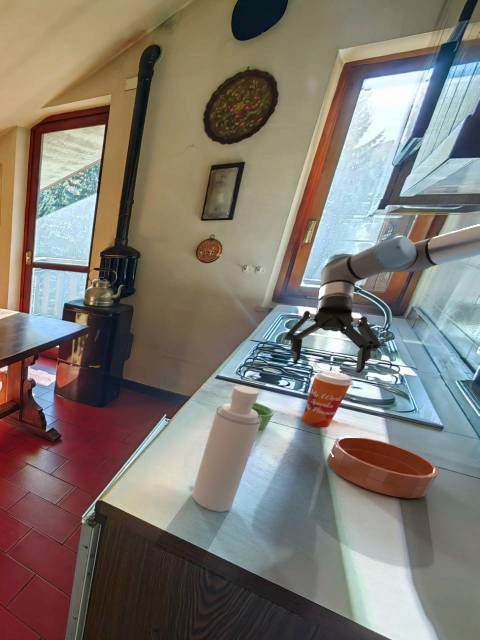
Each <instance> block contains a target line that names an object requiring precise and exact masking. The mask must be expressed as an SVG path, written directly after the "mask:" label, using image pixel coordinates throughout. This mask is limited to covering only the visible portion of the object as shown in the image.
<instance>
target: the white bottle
mask: <svg viewBox="0 0 480 640" xmlns="http://www.w3.org/2000/svg"><path fill="white" fill-rule="evenodd" d="M259 393H260V392H259V390H258V389H256V388H253V387H251V386H246V385H235V386H233V389H232V392H231V396H230V398H231V402H230V403H225V404H222V405H219V406H218V407H217V408H216V409H215V412H214V413H215V414H214V416H213V420H212V423H211V427H210V429H209V432H208V437H207V439H206V443H205V447H204V450H203V454H202V457H201V460H200V464H199V467H198V471H197V474H196V478H195V480H194V484H193V488H192V491H191V496H192V500H194V501H195V503H197V505H199V506H201V507H203V508H205V509H207V510H210V511H213V512H218V513H223V512H228V511H230V510H231V509H232V507H233V504H234V501H235V498H236V495H237V492H238V490H239V487H240V483H241V481H242V478H243V475H244V472H245V470H246V467H247V463H248V461H249V457H250V455H251V452H252V449H253V446H254V444H255V441H256V438H257V434H258V431H259V430H260V429H259V426H260V423H261V421H260V420H262V418H261V417H260V416H259V415H258V413H257V412H256V411H255V410H253V409H252V406H253V404H255V403H257V400H258V397H259Z"/></svg>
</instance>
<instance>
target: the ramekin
mask: <svg viewBox="0 0 480 640" xmlns="http://www.w3.org/2000/svg"><path fill="white" fill-rule="evenodd" d="M252 409H253V410H255V411H256V412H257V413H258V415H259V416H260V417H261V418H262V420H260V421H261V423H260V426H259V429H258V430H264V429H265V428H267V427H268V425H269V423H270V421H271V419H272V417H274V414H275V412H274V411H273V410H272V409H271V408H270V407H269V406H266V405H264V404H261V403H258V402H256V403H255V404H253V406H252Z"/></svg>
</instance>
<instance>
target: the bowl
mask: <svg viewBox="0 0 480 640" xmlns="http://www.w3.org/2000/svg"><path fill="white" fill-rule="evenodd" d="M326 463H327V465H328V467H329V468H330V469H331V470H332V471H333V472H334V473H336V474H337V475H339V476H340V477H342V478H344V479H345V480H347V481H348V482H351V483H352V484H355V485H357V486H359V487H362V488H364V489H366V490H369V491H372V492H375V493H377V494H378V493H379V494H382V495H386V496H391V497H396V498H397V497H398V498H403V499H419V498H420V499H421V498H423V497H425V496H426V495H427V494H428V492H429V490H430V489H431V488H432V486H433V484H434V482H435V480H436V478H437V477H438V475H439V468H437V466H436V465H435V464H434V463H433V462H431V461H429V460H428V459H427V458H425V457H423V456H422V455H420V454H417V453H415V452H413V451H411V450H409V449H406V448H403V447H401V446H398V445H395V444H393V443H388V442H387V441H386V442H385V441H383V440H382V441H381V440H377V439H372V438H369V437H361V436H353V435H352V436H351V435H350V436H340V437H338V438H336V439H335V441H334V443H333V446H332V448H331V450H330V452H329V455H328V457H327V459H326Z"/></svg>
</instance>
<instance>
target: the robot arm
mask: <svg viewBox="0 0 480 640" xmlns="http://www.w3.org/2000/svg"><path fill="white" fill-rule="evenodd" d="M477 256H480V223H479V224H476V225H475V224H474V225H472V226H468V227H464V228H461V229H458V230H454V231H450V232H447V233H444V234H441V235H437V236H433V237H431V238H430V237H429V238H426V239H423V240H419V241H416V242H413V241H412V239H410V238H407V237H406V236H404V235H397V236H395V237H392V238H390V239H387V240H383V241H381V242H379V243H377V244H376V245H372V246H370V247H369V248H366V249H364V250H362V251H359V252H357V253H355V254H353V253H349V252H341V253H340V254H338V253H336V254H333V255H331V256H329V257H327V258H326V259H325V261H324V262H323V265H322V269H321V271H320V286H319V292H318V298H317V304H316V311H315V313H311V312H310V310H305V311H304V312H303V314H302V315H301V317H300V319H299V320H298V321H297V322H296V323H295V324H294V325H293V326H292V327H291V329H289V331H288V332H287V333H286V334H285V336H284V337H283V339H284V340H285V341H290V352H294V353H293V360H292V364H298V362H299V361H300V358H301V352H302V346H303V339H304V338H306V337H308V336H309V335H310V334H312V333H314V332H317V331H318V330H321V329H322V330H323V331H331V332H336V333H337V332H340V334H342V335H344V336H346V337H347V338H348V339H349V340H350V341H351V342H352V343H353V344H354V345H355V346H356V347H357V348H358V349H359V350H358V351H357V356H356V357H357V358H356V366H355V367H356V368H355V373H357V374H361V372H363V371H364V370H365V368H366V362H368V361H370V359H371V356H372V355H371V354H372V352H376V351H378V349H380V348H381V347H382V343H381V342H380V340H379V339H378V337H377V336H376V334H375V333H374V331H373V330H372V328H371V326H370V325H369V323H368V317H367V316H361V317H354V316H353V305H354V295H355V287H356V283H358V282H361V281H363V280H366V279H368V278H371V277H374V276H376V275H379V274H383V273H415V272H421V271H425V270H428V269H430V268H431V267H435V266H439V265H443V264H448V263H451V262H456V261H461V260H465V259H468V258H472V257H477ZM311 320H313V321H314V322H315V323H314V324H312V325H310V326H309V327H307V328H305V329H303V330H302V331H300V332H298V331H299V330H300V329H301V328H302V327H303V326H304V325H305V323H306V322H309V321H311ZM354 326H355V327H356V328H357V330H356V329H355V328H354ZM297 332H298V333H297Z"/></svg>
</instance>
